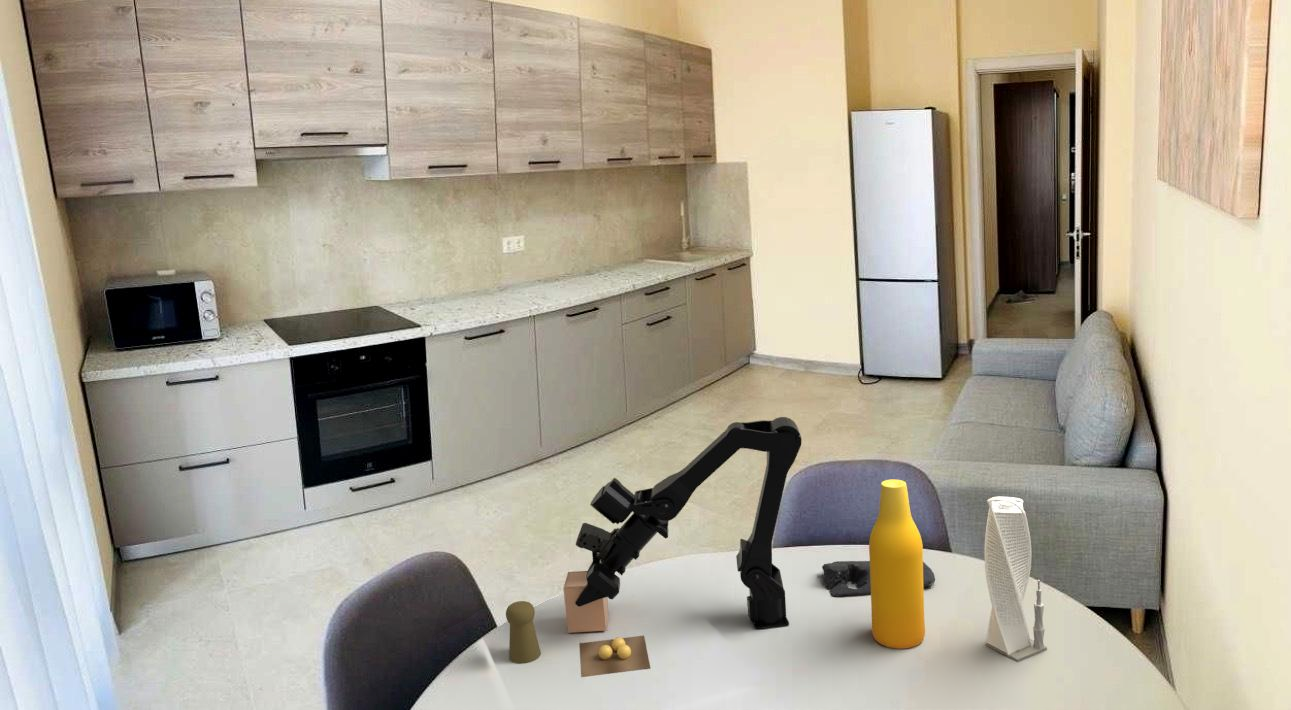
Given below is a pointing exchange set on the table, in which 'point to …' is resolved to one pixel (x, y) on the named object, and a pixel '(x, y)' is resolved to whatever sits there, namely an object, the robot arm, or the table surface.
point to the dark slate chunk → (857, 577)
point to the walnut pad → (613, 657)
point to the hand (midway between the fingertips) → (579, 595)
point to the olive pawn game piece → (522, 633)
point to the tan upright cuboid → (588, 614)
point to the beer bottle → (896, 571)
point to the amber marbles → (618, 646)
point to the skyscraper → (1010, 580)
